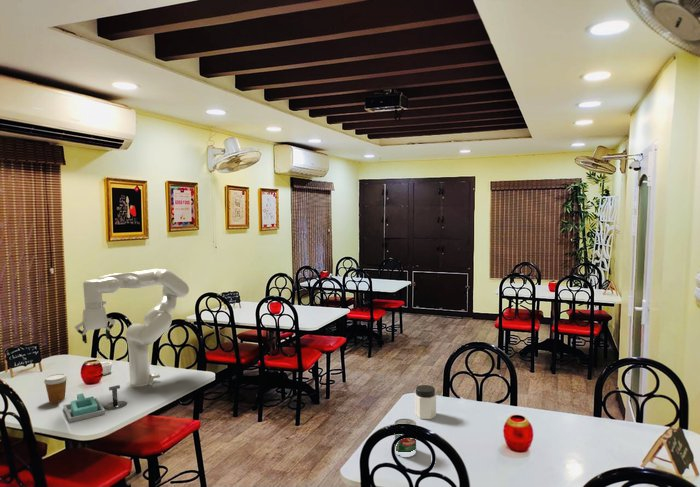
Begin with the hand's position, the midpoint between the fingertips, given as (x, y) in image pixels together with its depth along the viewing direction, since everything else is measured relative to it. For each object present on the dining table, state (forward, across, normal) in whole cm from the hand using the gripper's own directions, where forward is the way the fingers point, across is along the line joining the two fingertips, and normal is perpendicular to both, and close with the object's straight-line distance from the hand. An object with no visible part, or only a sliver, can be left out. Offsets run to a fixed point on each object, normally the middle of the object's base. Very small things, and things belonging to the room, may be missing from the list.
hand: (96, 340), depth 236 cm
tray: (+28, +10, +17) cm, 34 cm away
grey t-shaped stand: (+28, -2, +19) cm, 34 cm away
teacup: (+28, -8, -35) cm, 46 cm away
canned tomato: (+29, -75, +132) cm, 155 cm away
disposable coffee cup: (+28, +17, -7) cm, 34 cm away
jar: (+30, -104, +115) cm, 158 cm away
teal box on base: (+26, +10, +16) cm, 32 cm away
